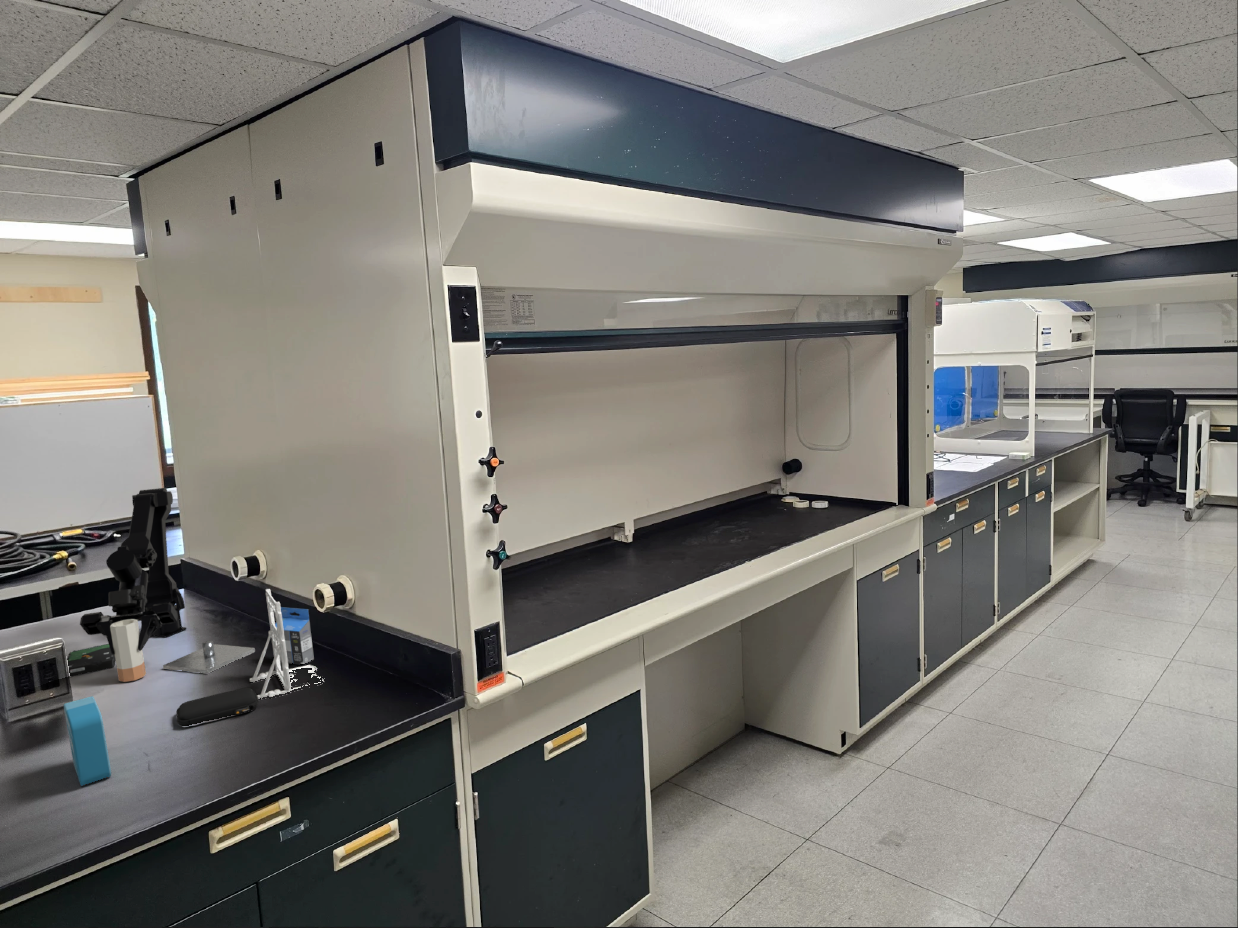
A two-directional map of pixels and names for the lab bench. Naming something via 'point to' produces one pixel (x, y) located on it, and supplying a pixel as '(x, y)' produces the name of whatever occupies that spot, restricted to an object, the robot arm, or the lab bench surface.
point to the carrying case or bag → (217, 706)
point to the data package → (87, 740)
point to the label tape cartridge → (297, 635)
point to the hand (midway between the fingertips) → (126, 651)
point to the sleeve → (127, 650)
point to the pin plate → (209, 658)
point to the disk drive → (90, 660)
